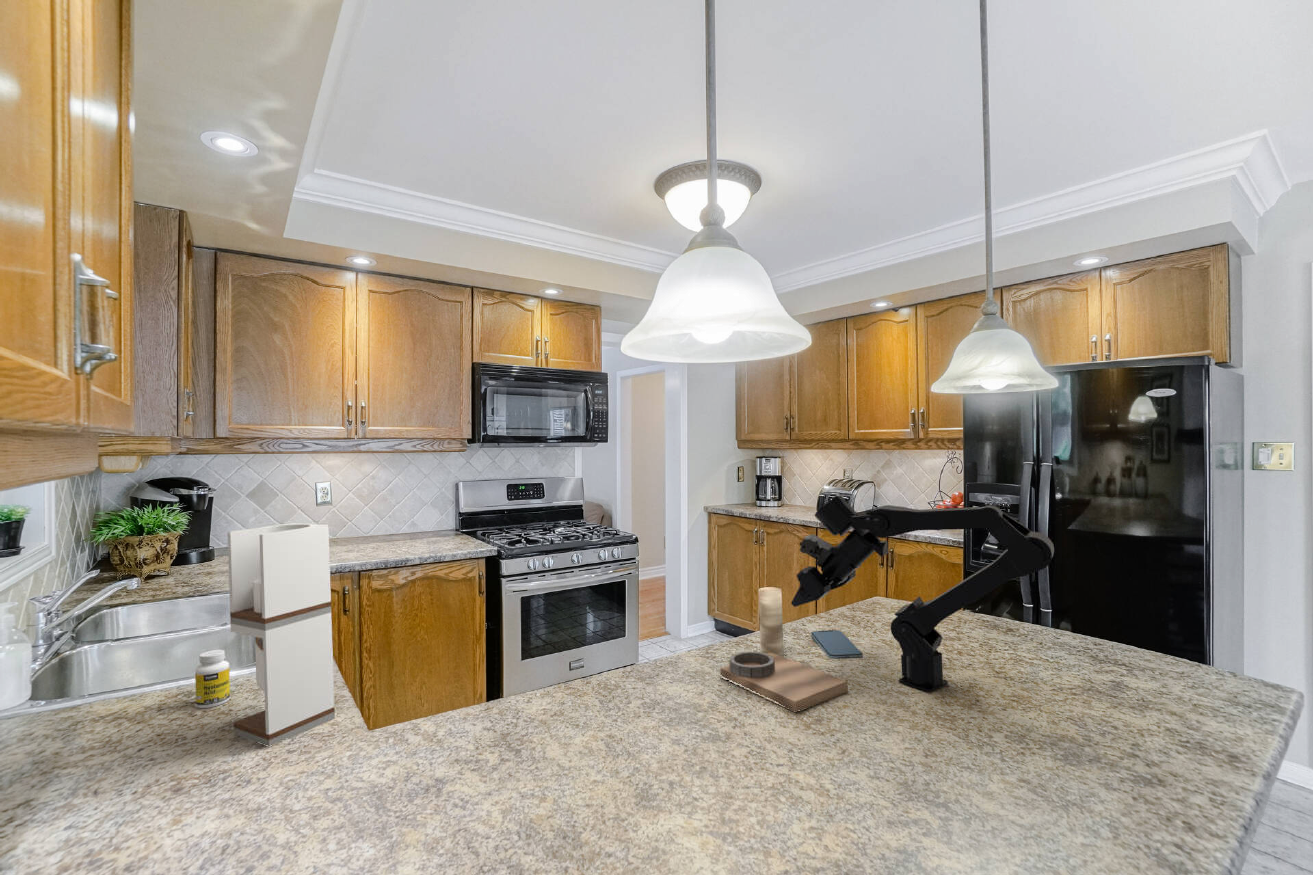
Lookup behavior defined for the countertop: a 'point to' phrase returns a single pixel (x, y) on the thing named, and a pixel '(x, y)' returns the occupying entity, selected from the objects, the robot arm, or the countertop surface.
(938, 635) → the robot arm
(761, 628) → the stool leg
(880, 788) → the countertop surface
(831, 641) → the smartphone
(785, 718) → the countertop surface
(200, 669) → the supplement bottle
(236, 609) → the display case
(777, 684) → the stool seat
